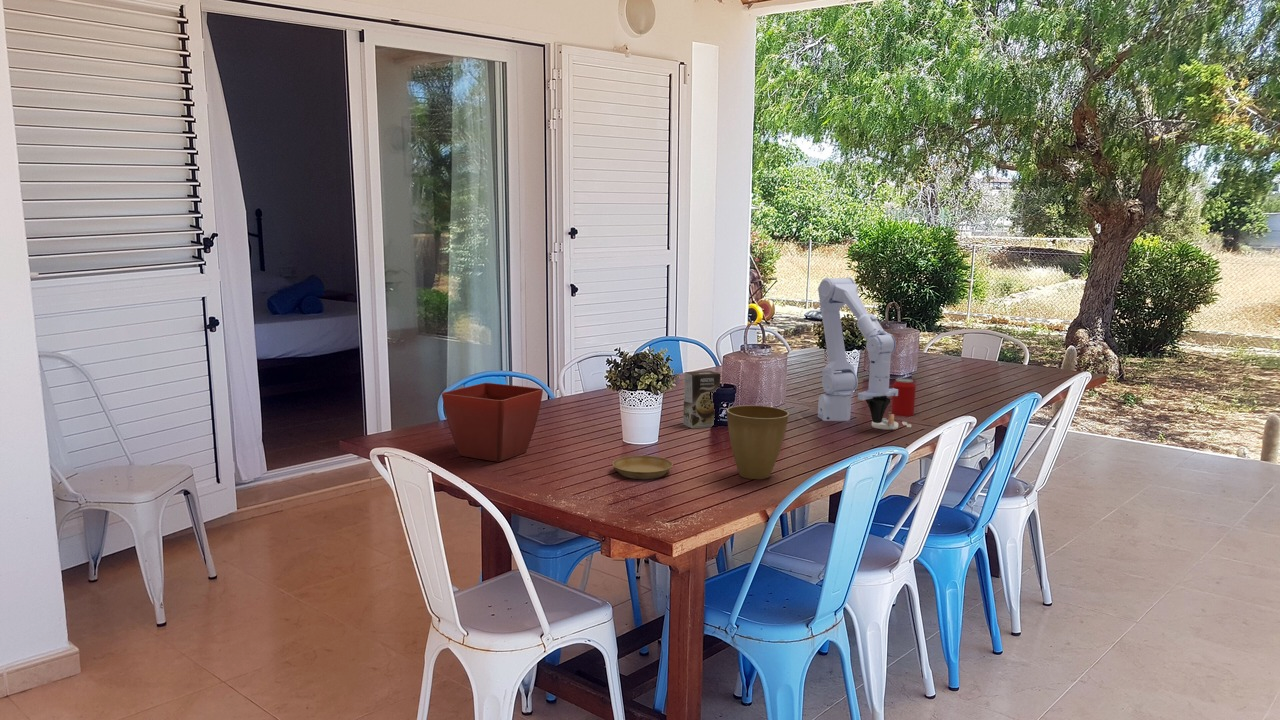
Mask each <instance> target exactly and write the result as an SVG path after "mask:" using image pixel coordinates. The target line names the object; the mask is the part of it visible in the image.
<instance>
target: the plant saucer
mask: <svg viewBox="0 0 1280 720" xmlns="http://www.w3.org/2000/svg"><path fill="white" fill-rule="evenodd" d="M612 466H613V468H614V469H615V470H616V472H617V473H618V474H620V475H621V476H623V477H625V478H629V479H635V480H651V479H658V478H661V477H663V476H665V475H666V474H667V473H668V472H669V471H670V470H671V469H672V467H673V466H674V465H673V461H671V460H669V459H667V458H664V457H661V456H654V455H630V456H623V457H619V458H617V459H615V460H613V461H612Z"/></svg>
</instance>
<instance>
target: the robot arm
mask: <svg viewBox="0 0 1280 720" xmlns="http://www.w3.org/2000/svg"><path fill="white" fill-rule="evenodd" d="M817 290H818V298H819V299H818V300H819V305H820V309H821V310H820V312H821V318H822V324H823V333H824V340H825V345H826V347H825V348H826V353H827V359H828V363H827V365H826V366H824V368H822V371H821V372H822V377H821V386H822V389H823V391H824V392H825V393H821V394H819V396H818V400H817V402H818V404H817V405H818V406H817V418H819V419H821V420H822V421H823V422H848V421H850V420H851V411H852V409H851V407H852V395H854V392H855V390H857V388H858V387H859V386H858V384H859V379H858V376H857V374H856V371H855V367H854V365H852V364H851V363H850V362H849V361H847V354H846V347H845V342H844V334H843V325H842V319H841V313H840V310H841V309H842V307H844V306H845V305H846V306H847V308H848V309H849V310H850V312H851V313H852V314H853V316H854V317H855V318H856V319H857V321H856V327H857V329H858V330H859V331H860V333H861V335H862V336H863V337H864V339H865V340H866V344H865V345H866V351H867V352H868V353H867V354H868V360H869V371H868V373H869V375H868V389H867V390H864V391H861V392H858V393H857V400H859V401H865V402H866V404H867V406H868V408H869V411H870V415H871V420H872V421H873V422H875V423H881V421H882V418H884V415H885V412H886V410H887V408H888V406H889V404H890V403H891V398H889V397H892V396H898V389H894V388H893V387H892V388H890V375H891V360H892V359H891V358H892V354H893V353H894V352H895V350H896V348H897V343H896V339H895V337H894V335H893V334H891V333H888V332H887V331H885V330H884V328H883V326H882V325H881V324H880V322H879V321H878V318H877V317H876V316H875V314H871V313H868V311H867V309H866V307H865V305H864V303H863V301H862V300H861V298H860V296H859V294H858V291H859V290H858V285H857V284H856V282H855V280H854V279H853V278H852V277H850V276H848V277H838V278H837V277H836V278H835V277H834V278H831V277H830V278H828V277H825V278H823V279H822V280H821V281H820V283H819V285H818V287H817ZM872 421H871V422H872Z"/></svg>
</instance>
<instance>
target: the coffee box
mask: <svg viewBox="0 0 1280 720" xmlns="http://www.w3.org/2000/svg"><path fill="white" fill-rule="evenodd" d="M718 386H720V387H718ZM718 388H720V389H721V373H719V372H717V371H716V372H715V371H713V370H704V371H703V370H702V371H685V372H684V390H683V391H684V392H683V393H684V394H683V413H682V414H683V416H682V417H683V418H682V422H683V423H682V425H683V426H685V427H688V428H690V429H692V430H693V429H702V428H704V429H705V428H713V427H712V426H713V425H714V420H715V418H714V417H715V409H714V403H713V393H714V392H716V390H717V389H718ZM710 392H711V399H710ZM712 392H713V393H712Z"/></svg>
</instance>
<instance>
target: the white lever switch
mask: <svg viewBox="0 0 1280 720" xmlns="http://www.w3.org/2000/svg"><path fill="white" fill-rule="evenodd" d="M871 427H872V428H874V429H879V430H889V431H891V430H897V429H899V422H897V421H895V415H894V414H892V413H888V418H886V417H883V418H882V421H881V423H875V422H873V421H871Z"/></svg>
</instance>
